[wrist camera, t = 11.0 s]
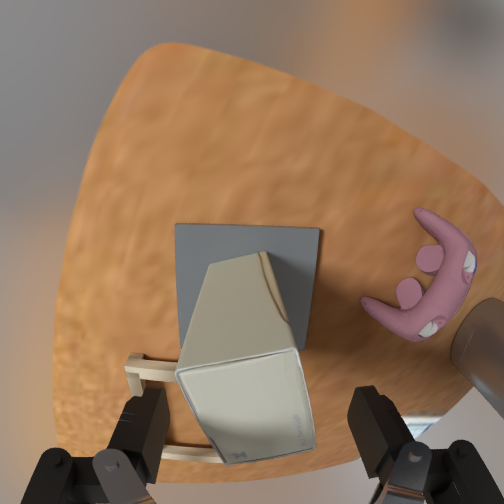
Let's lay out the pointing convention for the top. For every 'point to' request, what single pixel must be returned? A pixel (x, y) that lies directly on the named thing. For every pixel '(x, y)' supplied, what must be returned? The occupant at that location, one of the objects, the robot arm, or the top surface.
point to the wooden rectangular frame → (165, 371)
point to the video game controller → (441, 289)
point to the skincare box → (245, 366)
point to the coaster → (240, 244)
